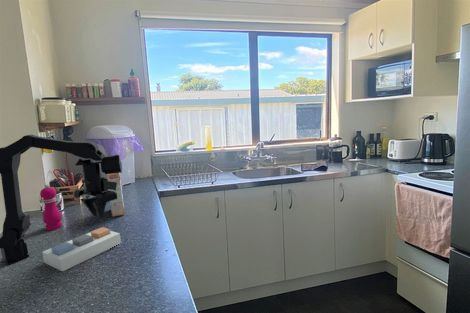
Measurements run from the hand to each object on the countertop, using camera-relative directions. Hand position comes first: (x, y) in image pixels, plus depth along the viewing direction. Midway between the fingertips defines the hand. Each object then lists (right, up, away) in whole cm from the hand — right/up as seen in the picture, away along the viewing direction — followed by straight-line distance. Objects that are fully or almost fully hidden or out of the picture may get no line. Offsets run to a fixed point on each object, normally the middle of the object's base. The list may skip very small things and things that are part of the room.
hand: (98, 216), depth 112 cm
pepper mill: (-30, -10, +23) cm, 39 cm away
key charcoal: (-3, -9, -4) cm, 11 cm away
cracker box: (-7, -5, +38) cm, 39 cm away
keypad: (-3, -12, -4) cm, 13 cm away
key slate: (-7, -11, -10) cm, 16 cm away
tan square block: (+1, -8, +1) cm, 8 cm away
